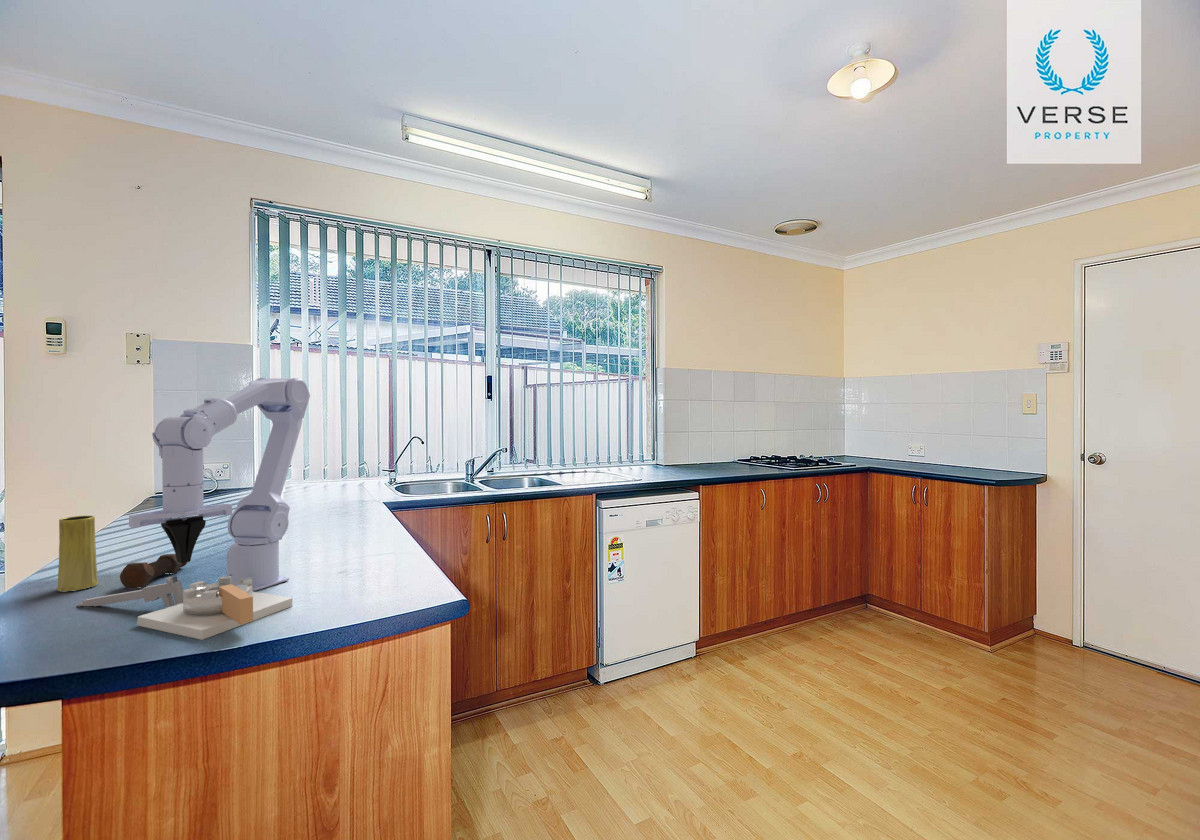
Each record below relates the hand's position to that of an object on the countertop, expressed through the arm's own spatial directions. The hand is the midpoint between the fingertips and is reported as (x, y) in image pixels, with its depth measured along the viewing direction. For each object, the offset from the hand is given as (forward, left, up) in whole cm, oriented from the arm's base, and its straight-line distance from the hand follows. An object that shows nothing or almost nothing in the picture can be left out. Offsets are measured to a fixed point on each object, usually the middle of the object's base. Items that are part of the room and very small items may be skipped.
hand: (183, 561), depth 95 cm
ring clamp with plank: (+10, +1, -7) cm, 12 cm away
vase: (-36, +2, -10) cm, 37 cm away
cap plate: (+6, +2, -9) cm, 11 cm away
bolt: (-28, +13, -10) cm, 33 cm away
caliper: (-13, -1, -10) cm, 17 cm away
